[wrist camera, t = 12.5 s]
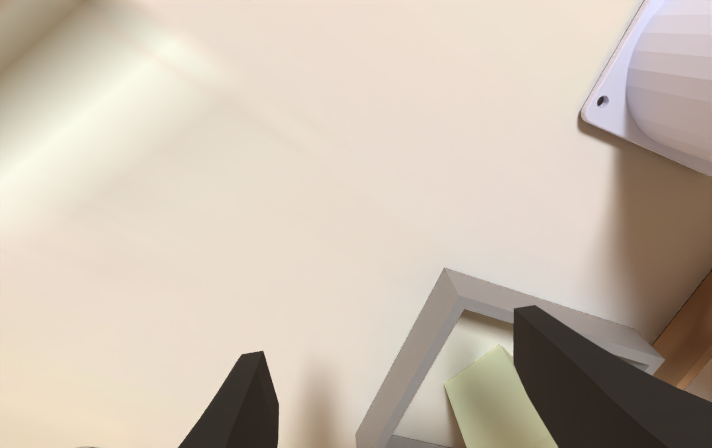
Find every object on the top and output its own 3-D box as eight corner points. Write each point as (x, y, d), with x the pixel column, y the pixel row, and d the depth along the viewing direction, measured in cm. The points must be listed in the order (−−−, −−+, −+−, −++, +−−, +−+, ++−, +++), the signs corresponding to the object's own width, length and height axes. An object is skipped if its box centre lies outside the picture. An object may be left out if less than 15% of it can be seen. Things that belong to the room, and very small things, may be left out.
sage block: (537, 381, 27) (594, 474, 21) (482, 418, 27) (524, 516, 22) (499, 343, 25) (551, 433, 20) (443, 383, 26) (477, 479, 21)
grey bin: (444, 267, 23) (458, 295, 20) (634, 329, 25) (665, 359, 23) (355, 434, 27) (359, 472, 25) (525, 471, 30) (543, 509, 27)
